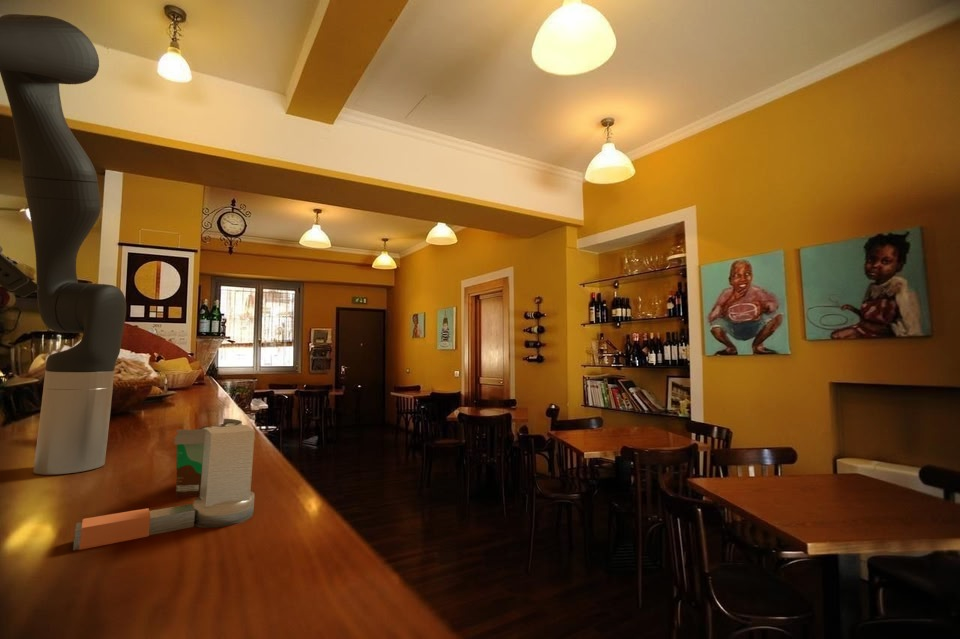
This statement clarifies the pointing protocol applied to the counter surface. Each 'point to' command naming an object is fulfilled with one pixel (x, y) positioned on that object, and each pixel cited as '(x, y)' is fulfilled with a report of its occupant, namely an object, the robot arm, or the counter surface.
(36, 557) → the counter surface
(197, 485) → the food container
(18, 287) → the robot arm
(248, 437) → the white upright block
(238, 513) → the ratchet
